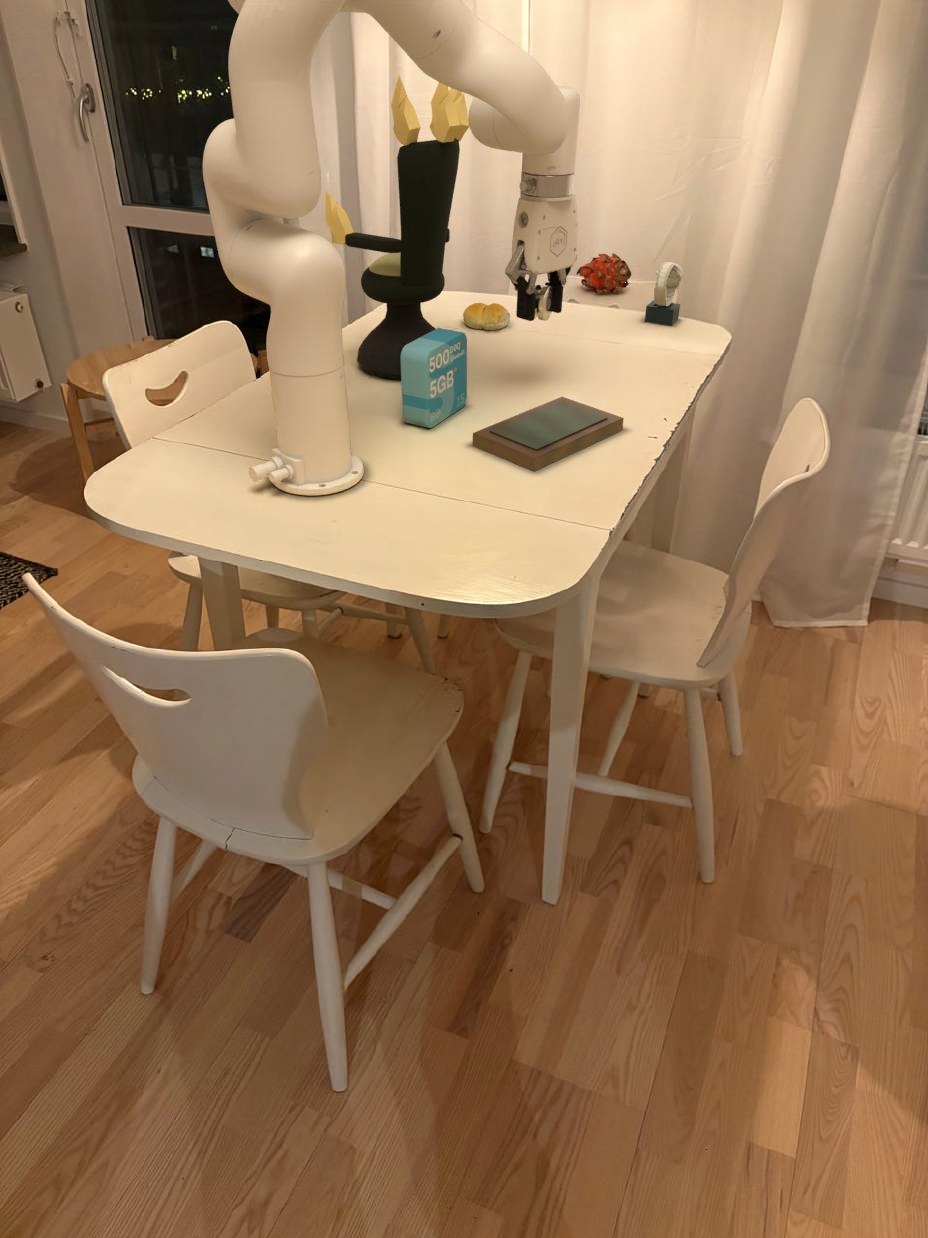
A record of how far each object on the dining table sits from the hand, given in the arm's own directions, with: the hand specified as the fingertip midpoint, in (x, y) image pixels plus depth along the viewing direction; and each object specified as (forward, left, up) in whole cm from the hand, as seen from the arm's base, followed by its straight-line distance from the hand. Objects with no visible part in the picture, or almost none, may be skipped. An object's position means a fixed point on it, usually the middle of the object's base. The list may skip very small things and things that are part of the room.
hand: (539, 313), depth 140 cm
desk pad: (-10, -12, -14) cm, 21 cm away
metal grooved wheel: (0, 0, -1) cm, 1 cm away
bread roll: (+22, +32, -14) cm, 41 cm away
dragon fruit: (+56, +30, -14) cm, 66 cm away
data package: (-16, +6, -14) cm, 22 cm away
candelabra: (-4, +24, -14) cm, 28 cm away
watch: (+49, +9, -14) cm, 51 cm away
